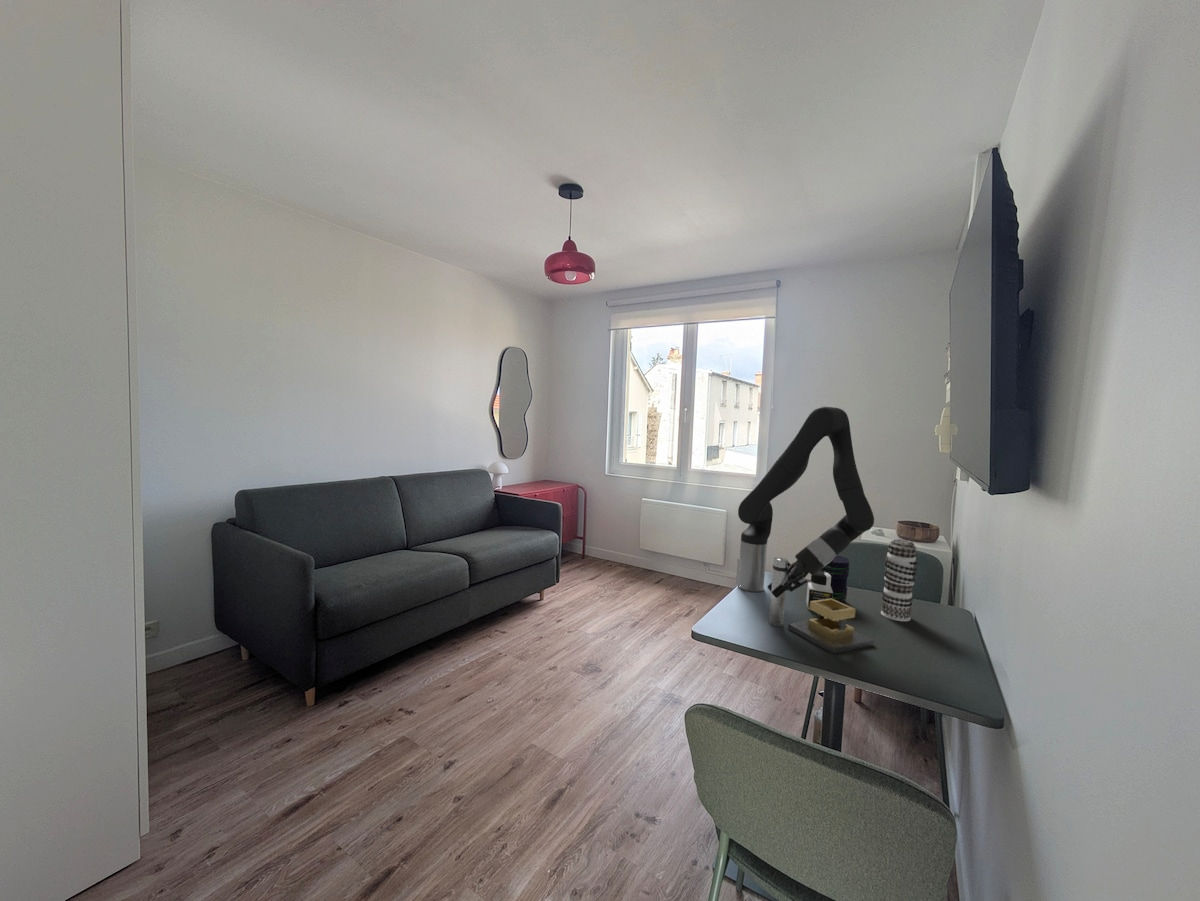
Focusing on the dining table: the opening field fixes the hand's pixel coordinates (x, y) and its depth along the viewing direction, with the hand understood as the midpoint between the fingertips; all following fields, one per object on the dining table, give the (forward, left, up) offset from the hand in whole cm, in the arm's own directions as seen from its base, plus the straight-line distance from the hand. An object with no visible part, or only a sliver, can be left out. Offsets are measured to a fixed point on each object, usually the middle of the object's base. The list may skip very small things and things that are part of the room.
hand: (771, 592), depth 150 cm
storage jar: (-9, +36, -10) cm, 38 cm away
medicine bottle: (-5, +26, -10) cm, 28 cm away
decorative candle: (+8, +46, -10) cm, 47 cm away
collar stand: (+13, +11, -10) cm, 19 cm away
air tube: (+1, +2, -10) cm, 10 cm away
